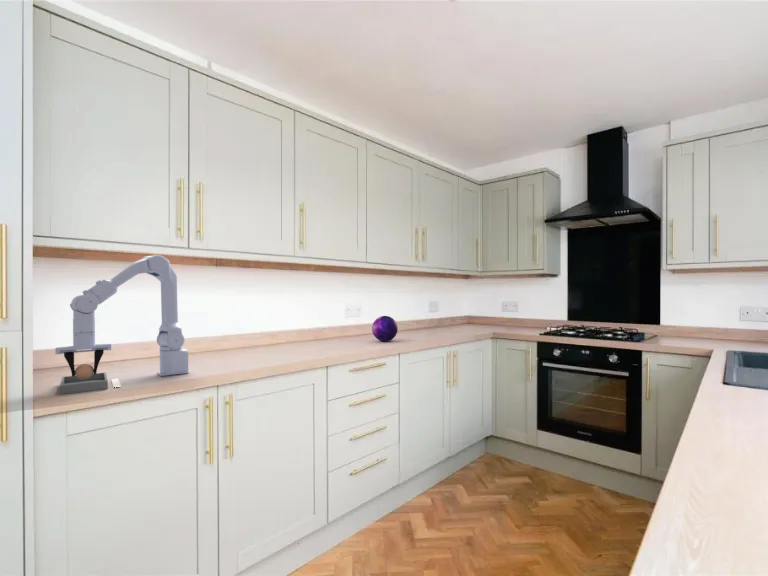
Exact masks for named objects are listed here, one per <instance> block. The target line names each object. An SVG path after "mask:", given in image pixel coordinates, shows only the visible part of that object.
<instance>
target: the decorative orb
mask: <svg viewBox="0 0 768 576" xmlns="http://www.w3.org/2000/svg"><path fill="white" fill-rule="evenodd" d="M371 329H372V330H371V331H372V335H373V336H374V337H375V339H377V340H378V341H380V342H386V343H387V342H390V341H393V339H394V338H395V337H396V336H397V334H398V330H399V329H398V324H397V321H396V320H395V319H394V318H393V317H392V316H389V315H382V316H378V317H377V318H376V319H375V320H374V321H373V323H372V325H371Z"/></svg>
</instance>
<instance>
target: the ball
mask: <svg viewBox="0 0 768 576" xmlns="http://www.w3.org/2000/svg"><path fill="white" fill-rule="evenodd" d="M93 374H94V366H92V365H91V364H89V363H88V364H87V363H84V364H79V365H78V366H77V367H76V368H75V376H76V377H77V378H78V379H81V380H86V379H88V378H90V377H91V376H92V375H93Z"/></svg>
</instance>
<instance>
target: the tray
mask: <svg viewBox="0 0 768 576" xmlns="http://www.w3.org/2000/svg"><path fill="white" fill-rule="evenodd" d="M108 385H109V382H108V375H107V372H96V374H94V373H93V375H92V376H91V377H90V378H88V379H86V380H81V379H78V378H77V377H76V376H72V375H67V376H61V381H60V383H59V385H58V386H59V395H67V394H77V393H82V392H83V393H85V392H92V391H102V390H108V389H109V388H108V387H109V386H108Z"/></svg>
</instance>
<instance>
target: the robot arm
mask: <svg viewBox="0 0 768 576" xmlns="http://www.w3.org/2000/svg"><path fill="white" fill-rule="evenodd" d="M139 274H147V275H151V276H153V277H154V278H156V279H157V280H158V281H159V282H160V305H161V307H160V308H161V325H160V326H159V328H158V335H157V336H156V342H157V344H158V346H159V370H158V371H157V374H158V375H159V376H160V377H163V376H165V377H166V376H174V375H181V374H182V375H183V374H188V373H189V351H188V349H187V348H182V346H183V345H184V343H185V336H184V335H183V331H182V327H181V326H180V324H179V315H178V313H179V312H178V281H177V279H178V278H177V274H176V272H175V270H174V269H173V267H172V266H171V261H170V260H169V259H168V258H166V257H165V256H163V255H161V254H154V255H145V256H144V257H141V258H140V259H137V260H136V261H134V262H132V263H131V264H130V265H128V266H127V267H126V268H124V269H123V270H122V271H120V272H119V273H118V274H116V275H115V276H113V277H112V278H110V279H102V280H97V281H95V285H93V286H92V287H90V288H89V289H84V290H83V291H82V294H80V295H77V296H75V297H73V299H72V300H71V302H70V303H69V307H70V308H71V310H72V311H73V315H72V316H73V317H72V318H73V319H72V345H70V346H61V347H55V349H54V351H55V352H54V354H55V355H60V354H61V355H62V354H63V358H64V360H65V361H66V362H67V365H68V366H69V368H70V369H69V370H70V373H71V376H75V370H76V368H75V353H76V354H77V353H86V352H94V355H93V358H94V359H93V360H94V361H93V369H94V373H93V374H96V373H98V371H97V370H98V367H99V363H100V361H101V359H102V357H103V355H104V353H105V351H112V343H99V344H96V333H95V332H96V327H95V326H96V318H95V311H96V310H97V309H98V307H99V305H101V304H103V303H104V302H105V301H107V300H108V299H110V298H111V297H112V296H114V295H115V294H117V292H118V287H120V286H122V285H123V284H125V283H127V282H128V281H129V280H131V279H133V278H134V277H136V276H138V275H139ZM189 374H190V373H189Z"/></svg>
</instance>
